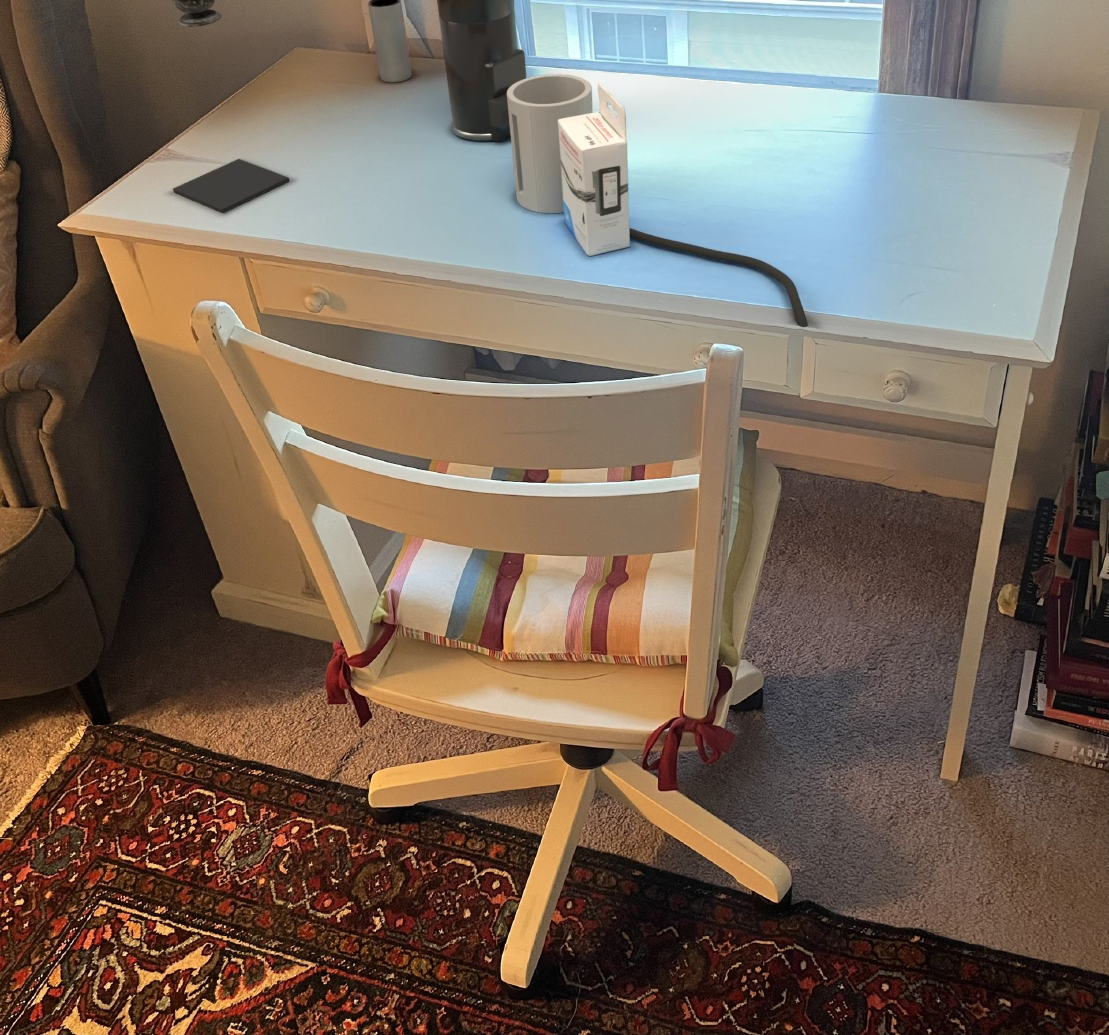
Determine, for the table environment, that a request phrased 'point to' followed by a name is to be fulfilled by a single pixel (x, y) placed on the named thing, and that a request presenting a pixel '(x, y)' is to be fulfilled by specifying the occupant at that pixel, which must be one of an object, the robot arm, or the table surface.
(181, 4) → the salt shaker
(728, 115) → the table surface
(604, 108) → the ink box
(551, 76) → the cup
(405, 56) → the grey tall cylinder
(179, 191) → the mat
